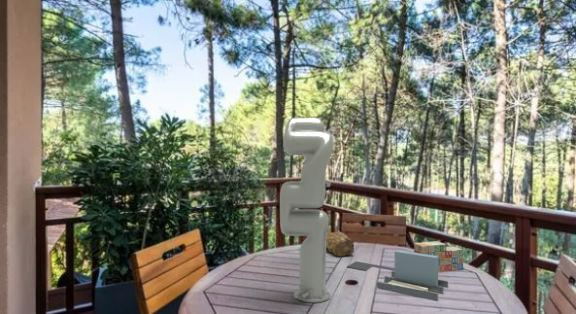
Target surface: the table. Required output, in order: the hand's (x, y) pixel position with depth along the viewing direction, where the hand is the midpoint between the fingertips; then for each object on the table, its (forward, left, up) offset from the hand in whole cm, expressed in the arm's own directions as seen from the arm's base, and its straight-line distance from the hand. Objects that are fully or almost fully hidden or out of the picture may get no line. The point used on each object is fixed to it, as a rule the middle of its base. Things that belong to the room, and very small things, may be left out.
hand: (313, 201), depth 178 cm
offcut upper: (-10, -47, -29) cm, 56 cm away
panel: (-2, -48, -30) cm, 57 cm away
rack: (-5, -48, -30) cm, 57 cm away
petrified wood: (+26, 0, -30) cm, 40 cm away
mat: (+10, -26, -30) cm, 41 cm away
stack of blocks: (+26, -50, -30) cm, 64 cm away
